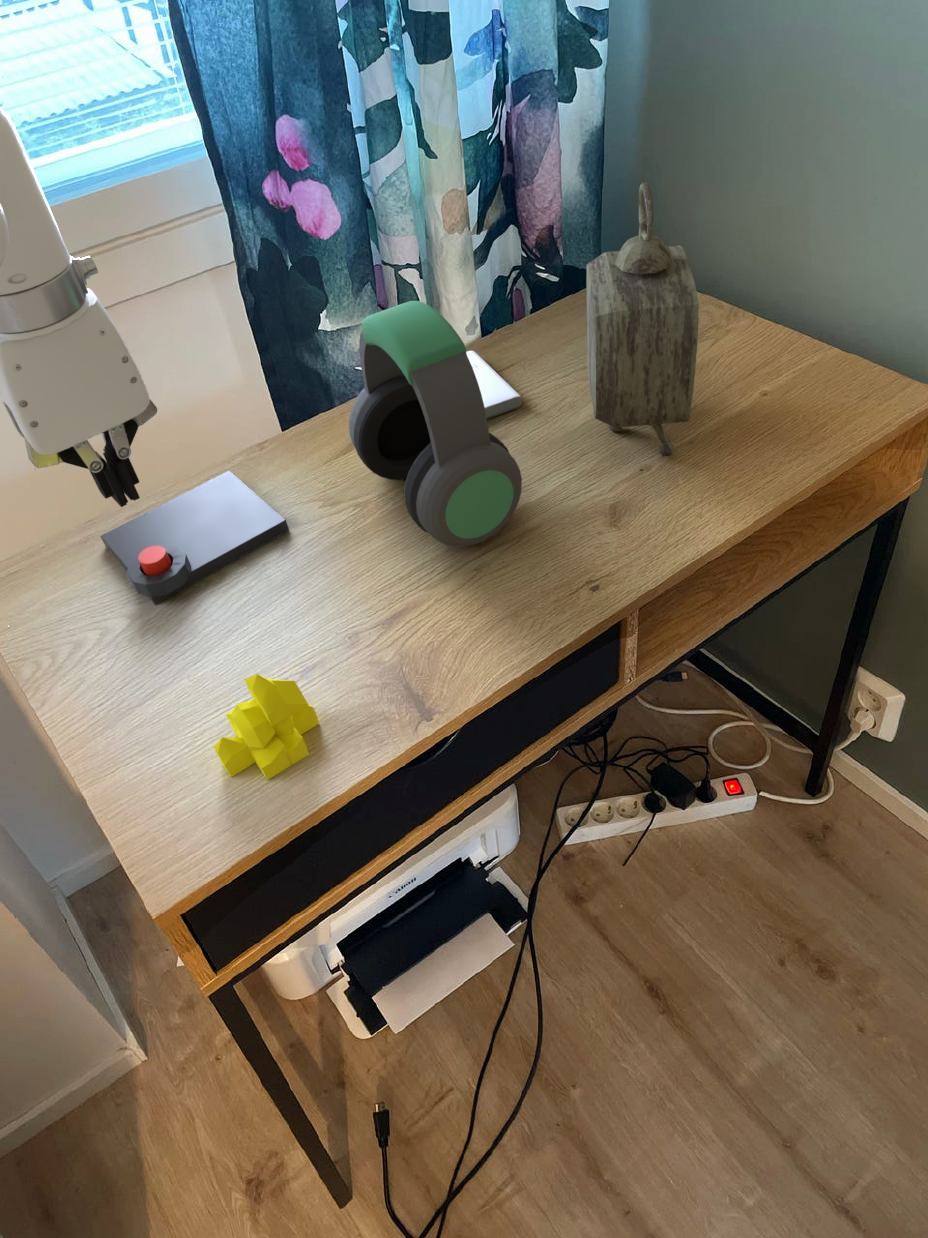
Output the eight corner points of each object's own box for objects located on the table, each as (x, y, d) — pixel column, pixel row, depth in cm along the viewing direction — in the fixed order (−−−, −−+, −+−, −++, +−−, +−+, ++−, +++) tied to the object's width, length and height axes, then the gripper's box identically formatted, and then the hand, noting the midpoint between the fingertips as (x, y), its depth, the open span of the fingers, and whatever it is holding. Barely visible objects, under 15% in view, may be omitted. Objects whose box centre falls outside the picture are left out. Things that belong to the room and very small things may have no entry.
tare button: (151, 580, 83) (145, 568, 82) (139, 566, 85) (133, 554, 84) (176, 566, 84) (170, 554, 83) (164, 553, 86) (158, 541, 84)
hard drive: (456, 430, 100) (413, 380, 108) (522, 407, 101) (475, 359, 110) (455, 418, 98) (411, 368, 107) (521, 394, 100) (473, 347, 108)
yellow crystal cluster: (211, 747, 72) (179, 685, 66) (297, 696, 75) (274, 633, 69) (242, 795, 68) (212, 734, 63) (332, 740, 71) (310, 677, 66)
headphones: (352, 474, 96) (309, 296, 82) (441, 437, 99) (416, 260, 85) (434, 573, 84) (401, 385, 69) (534, 528, 87) (522, 338, 72)
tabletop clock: (686, 465, 91) (709, 215, 73) (596, 472, 92) (597, 226, 74) (667, 388, 101) (682, 152, 83) (586, 394, 102) (584, 162, 84)
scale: (153, 615, 84) (141, 593, 81) (98, 549, 91) (86, 527, 89) (295, 536, 90) (288, 512, 87) (233, 480, 97) (224, 457, 95)
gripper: (105, 246, 70) (182, 442, 83) (-88, 319, 65) (27, 517, 78) (145, 274, 66) (219, 475, 79) (-59, 355, 60) (58, 557, 73)
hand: (124, 495), depth 78 cm, fingers closed
